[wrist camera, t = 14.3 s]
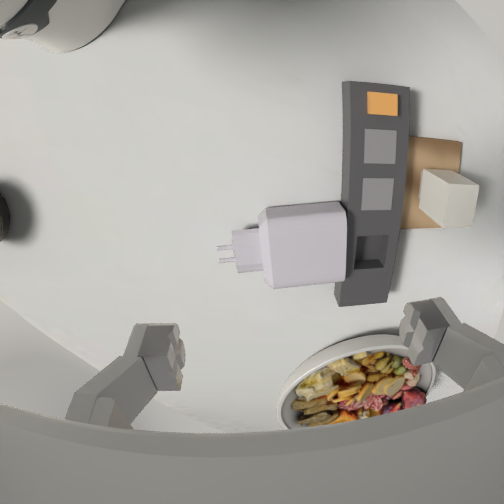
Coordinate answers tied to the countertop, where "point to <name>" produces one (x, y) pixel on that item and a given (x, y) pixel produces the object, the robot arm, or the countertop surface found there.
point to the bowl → (353, 383)
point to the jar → (3, 217)
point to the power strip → (372, 187)
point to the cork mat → (420, 157)
